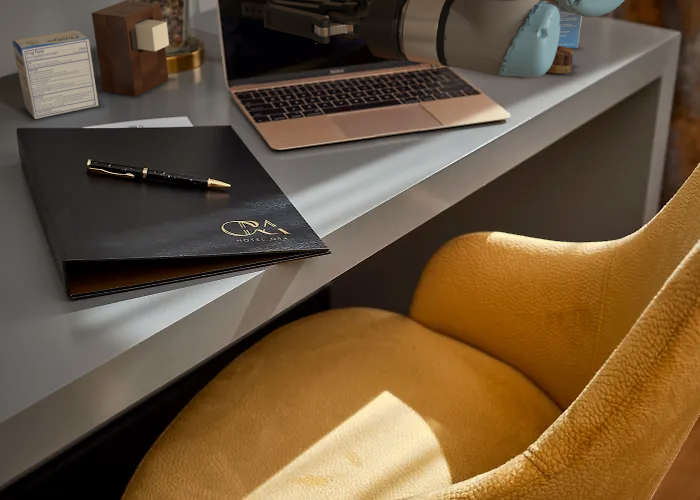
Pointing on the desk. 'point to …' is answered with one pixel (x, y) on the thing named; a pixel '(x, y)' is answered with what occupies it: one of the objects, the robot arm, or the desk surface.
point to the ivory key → (152, 35)
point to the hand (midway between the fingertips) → (225, 2)
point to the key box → (127, 49)
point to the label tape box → (568, 28)
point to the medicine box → (56, 73)
